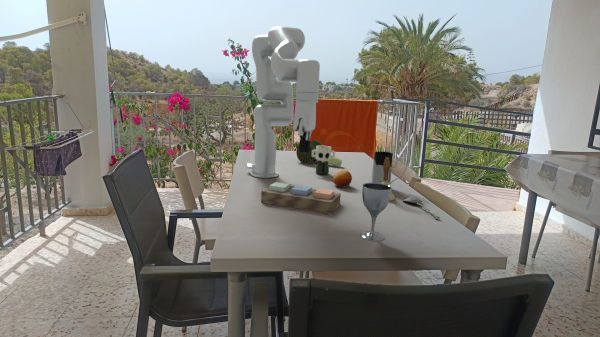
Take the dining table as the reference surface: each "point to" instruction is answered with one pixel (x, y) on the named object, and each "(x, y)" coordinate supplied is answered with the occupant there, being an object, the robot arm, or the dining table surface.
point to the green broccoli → (307, 156)
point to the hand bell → (386, 169)
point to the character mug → (323, 158)
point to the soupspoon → (418, 201)
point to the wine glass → (375, 205)
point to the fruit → (342, 178)
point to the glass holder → (378, 167)
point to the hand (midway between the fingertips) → (304, 151)
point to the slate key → (301, 190)
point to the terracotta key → (324, 193)
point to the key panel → (301, 200)
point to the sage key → (279, 187)
